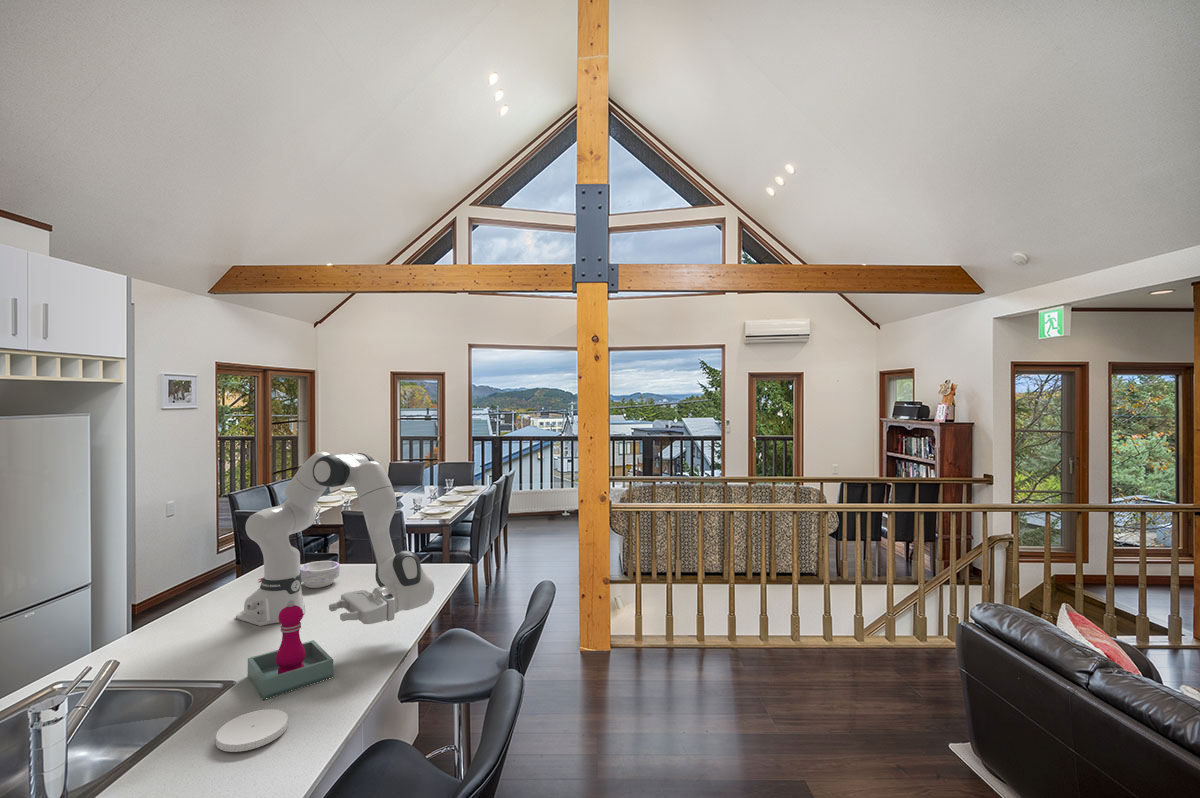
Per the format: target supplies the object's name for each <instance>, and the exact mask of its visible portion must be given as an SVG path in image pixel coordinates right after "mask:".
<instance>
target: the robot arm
mask: <svg viewBox="0 0 1200 798" xmlns="http://www.w3.org/2000/svg"><path fill="white" fill-rule="evenodd" d="M349 486H352V487H353V488H354V490H355V494H356V496H357V499H358V502H359V504H360V508H361V510H362V515H363V516H364V521H365V524H366V528H367V529H366V530H367V533H368V537H369V541H370V542H369V543H370V544H371V549H372V552H373V556H374V560H375V581H376V584H377V585H378V587H375V588H373V590H372V592H369V591H368V590H365V589H364V590H363V589H362V590H354V591H349V592H344V593H342V594H341V595H340V599H339V600H338V601H336V602H334V603H329V605H328V610H329V611H330V612H336V611H338V610H339V609H345V610H346V611H347V612H343V613H340V614H339V618H340V621H341V622H346V621H357V620H358V621H360V622H361V623H362V624H363V625H373V624H377V623H382V622H385V621H387V622H390V621H393V620H395V616H396V614H398V613H399V612H401V611H411V610H414V609H417V608H419V607H420V608H421V607H423V606H425V605H428V603H429V602H430V601H431V600H432V599H433V597H434V593H435V584H434V581H433V579H432V578H431V577H430V576H428V575H427V573H426V572H425V571H424V568H423V567H422V565H421V560H420V557H419V556H418V555H417V554H416V553H415V552H414V551H410V550H401V551H399V552H397V553H395V549H394V546H393V541H392V538H391V533H390V526H391V523H392V519H393V517H394V515H395V513H396V510H397V506H398V503H397V496H396V493H395V490H394V487H393V485H392V482H391V480H390V478H389V476H388V474H387V472H386V470H385V468H384V467H383V466H382V464H381V463H380V462H378V461H375V460H374V458H373V457H372V456H371V455H369V454H366V453H362V452H358V453H356V452H352V453H351V452H343V453H338V454H337V453H336V454H331V453H330V452H327V451H318V452H314V453H313V454H312V455H311V456H310V457H309V458H307V460H305V462H304V463H303V464H302V465H301V466H300V468H299V469H298V470H297V472H296V473H295V474H294V476H293V477H292V479H290V481H289V483H288V484H287V485H286V487H285V489H284V494H285V498H286V500H285V501H283V503H281V504H279V505H277V506H272V507H267V508H263V509H260V510H258V511H257V512H255V513H253V514H251V515H250V516H249V517H248V518H247V519H246V522H245V532H246V535H247V537H248V538H249V539H250V540H252V541H254V542H255V543H256V544H257V545H258V546H259V548H260V551H261V553H262V557H263V572H264V573H263V576H264V577H261V578H259V579H258V581H257V583H258V584H259V583H260V586H259V588H258V589H256V591H254V592H253V593H252V594H250V595H249V596H248V597H246V599H245V601H244V605H243V610H241V611H240V612H238V613H237V614H236V615H235V619H236V620H240V621H243V622H247V623H250V624H253V625H256V626H260V627H261V626H266V625H267V626H268V625H271V624H281V623H280V622H279V620H278V617H279V613H280V611H281V610H282V609H283V608H285V607H287V603H288V602H289V601H294V603H295V604H294V605H296V606H299V607H300V608H301V609H302V611H303V615H305V614H306V609H305V607H306V605H305V603H304V597H303V590H302V586H301V585H302V583H303V582H302V579H301V578H302V576H301V573H300V566H301V553H300V551H299V549H298V548H297V547H294V546H293V545H291V542H290V537H289V536H290V535H294V534H296V533H300V532H303V531H304V530H307V529H308V528H309V527H311V526H312V525H314V523H315V520H316V519H317V518H316V517H317V514H316V510H315V506H316V504H317V502H318V501H319V499H320V498H321V497H322V495H323V494H324V492H326V490H327V488H334V487H349Z"/></svg>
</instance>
